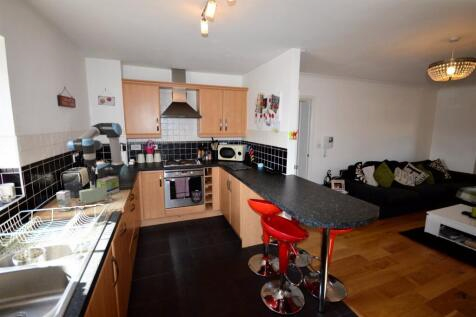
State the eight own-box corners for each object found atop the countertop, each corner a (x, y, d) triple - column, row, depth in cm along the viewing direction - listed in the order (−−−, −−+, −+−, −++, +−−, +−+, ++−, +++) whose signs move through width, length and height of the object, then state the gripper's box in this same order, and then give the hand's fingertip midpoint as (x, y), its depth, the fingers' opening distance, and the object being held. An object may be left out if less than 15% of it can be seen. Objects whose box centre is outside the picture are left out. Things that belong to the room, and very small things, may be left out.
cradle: (106, 198, 181) (106, 192, 180) (112, 202, 174) (112, 195, 173) (75, 206, 164) (74, 199, 163) (80, 210, 157) (79, 203, 156)
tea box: (107, 196, 187) (105, 180, 184) (97, 195, 189) (95, 179, 186) (119, 191, 201) (118, 176, 199) (110, 190, 203) (109, 175, 201)
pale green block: (104, 197, 177) (103, 186, 175) (107, 199, 173) (106, 187, 172) (80, 203, 163) (79, 190, 162) (82, 204, 160) (81, 192, 159)
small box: (84, 195, 188) (82, 182, 187) (76, 198, 182) (74, 184, 180) (73, 194, 192) (71, 181, 190) (65, 196, 186) (63, 183, 184)
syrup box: (72, 208, 159) (70, 190, 157) (66, 212, 153) (64, 192, 151) (64, 208, 159) (62, 190, 157) (58, 212, 153) (55, 192, 151)
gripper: (81, 158, 164) (84, 188, 168) (87, 160, 156) (90, 191, 160) (92, 157, 170) (95, 186, 174) (98, 159, 162) (101, 189, 166)
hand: (92, 188), depth 167 cm, fingers closed
